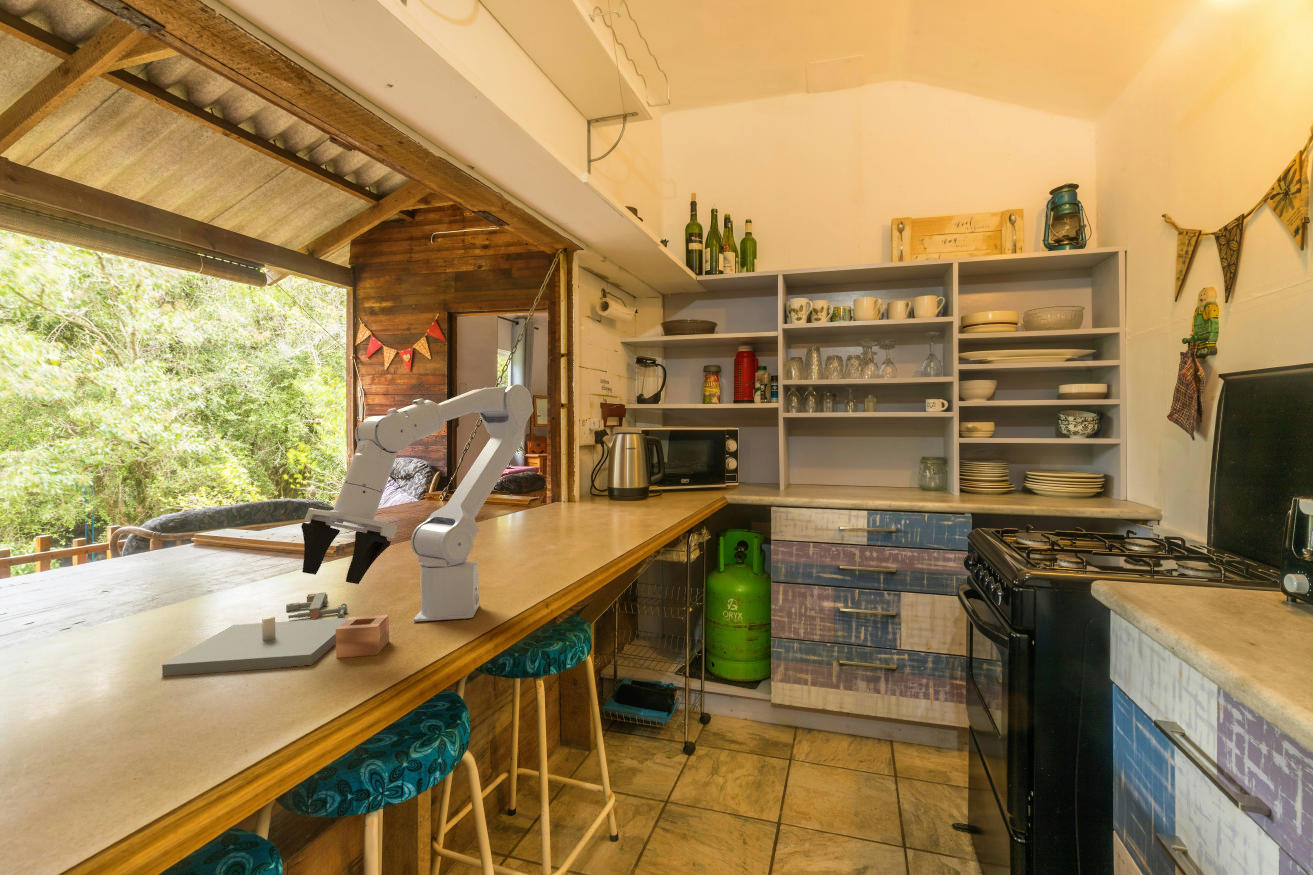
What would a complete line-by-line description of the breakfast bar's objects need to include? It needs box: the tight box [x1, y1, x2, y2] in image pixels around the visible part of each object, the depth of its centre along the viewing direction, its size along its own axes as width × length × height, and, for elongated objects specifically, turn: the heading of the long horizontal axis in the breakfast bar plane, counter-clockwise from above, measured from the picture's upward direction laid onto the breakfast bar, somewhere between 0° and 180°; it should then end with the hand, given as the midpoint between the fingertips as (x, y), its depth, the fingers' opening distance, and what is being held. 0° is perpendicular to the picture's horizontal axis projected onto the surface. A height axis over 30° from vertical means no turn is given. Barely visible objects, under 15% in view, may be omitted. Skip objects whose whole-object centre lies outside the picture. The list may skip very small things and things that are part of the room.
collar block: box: [335, 614, 390, 659], centre depth 83 cm, size 5×5×4 cm
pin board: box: [161, 615, 350, 677], centre depth 84 cm, size 18×16×4 cm
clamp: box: [285, 592, 348, 619], centre depth 102 cm, size 15×2×10 cm
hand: (330, 578), depth 84 cm, fingers open, 7 cm apart
